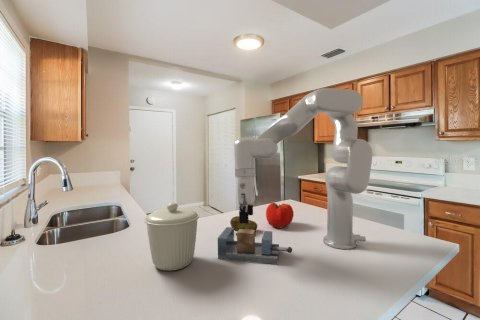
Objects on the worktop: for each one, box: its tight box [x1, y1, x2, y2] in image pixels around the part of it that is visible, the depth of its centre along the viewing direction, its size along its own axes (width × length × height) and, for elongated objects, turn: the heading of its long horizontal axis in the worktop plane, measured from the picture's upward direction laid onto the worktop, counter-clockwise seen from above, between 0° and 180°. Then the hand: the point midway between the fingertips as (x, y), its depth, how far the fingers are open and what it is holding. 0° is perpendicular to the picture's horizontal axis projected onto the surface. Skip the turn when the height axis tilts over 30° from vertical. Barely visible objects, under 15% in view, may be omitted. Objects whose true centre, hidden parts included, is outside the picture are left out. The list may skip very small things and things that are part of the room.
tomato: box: [265, 202, 295, 229], centre depth 117 cm, size 13×14×12 cm
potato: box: [229, 215, 258, 233], centre depth 108 cm, size 8×13×8 cm, turn 94°
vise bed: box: [217, 226, 280, 265], centre depth 86 cm, size 21×12×8 cm, turn 78°
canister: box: [143, 202, 200, 272], centre depth 79 cm, size 18×18×21 cm
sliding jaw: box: [261, 230, 293, 256], centre depth 84 cm, size 10×9×6 cm
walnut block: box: [236, 229, 256, 253], centre depth 87 cm, size 6×4×7 cm, turn 77°
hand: (246, 218), depth 86 cm, fingers open, 9 cm apart
